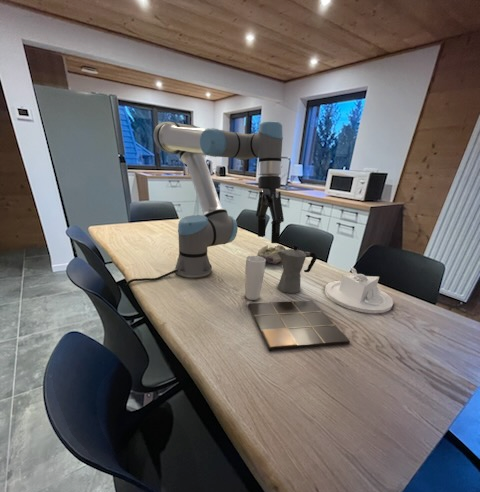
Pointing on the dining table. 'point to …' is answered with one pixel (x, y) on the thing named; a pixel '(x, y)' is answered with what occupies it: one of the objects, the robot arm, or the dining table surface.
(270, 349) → the board
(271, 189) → the robot arm
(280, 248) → the geode
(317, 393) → the dining table surface
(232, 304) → the dining table surface
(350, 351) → the dining table surface
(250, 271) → the drinking glass
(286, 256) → the coffeepot
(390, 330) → the dining table surface
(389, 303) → the dish
